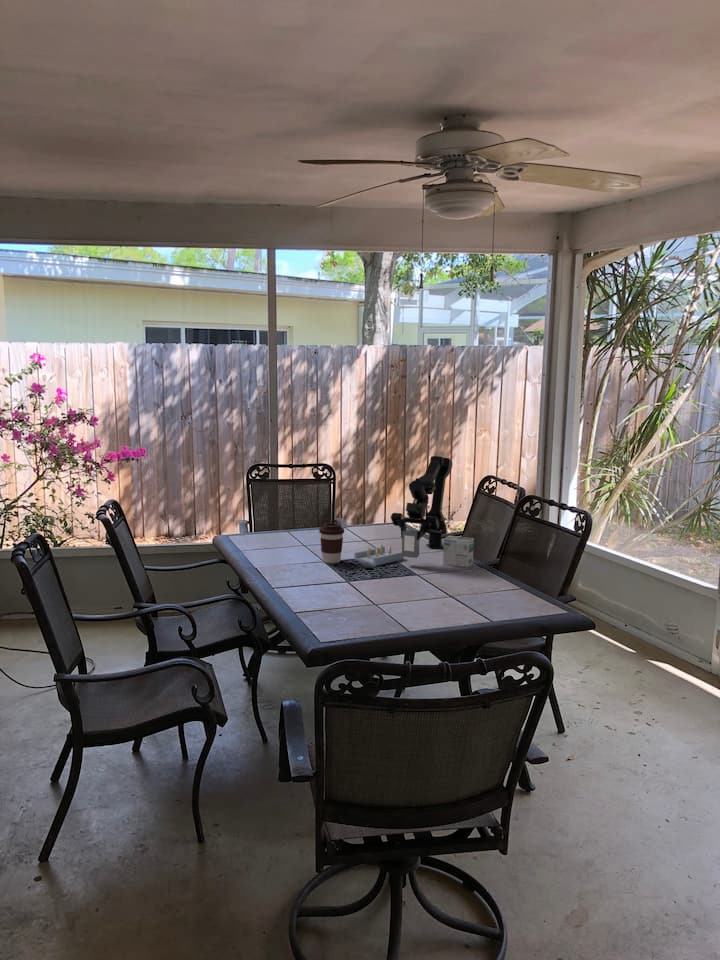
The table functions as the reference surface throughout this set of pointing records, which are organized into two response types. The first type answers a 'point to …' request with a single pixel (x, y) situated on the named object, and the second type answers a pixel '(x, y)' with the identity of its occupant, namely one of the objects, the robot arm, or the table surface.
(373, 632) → the table surface
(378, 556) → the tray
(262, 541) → the table surface
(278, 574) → the table surface
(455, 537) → the light bulb box
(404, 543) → the block
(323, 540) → the coffee cup
